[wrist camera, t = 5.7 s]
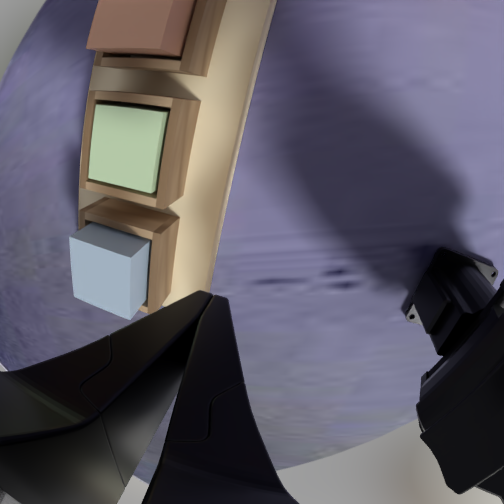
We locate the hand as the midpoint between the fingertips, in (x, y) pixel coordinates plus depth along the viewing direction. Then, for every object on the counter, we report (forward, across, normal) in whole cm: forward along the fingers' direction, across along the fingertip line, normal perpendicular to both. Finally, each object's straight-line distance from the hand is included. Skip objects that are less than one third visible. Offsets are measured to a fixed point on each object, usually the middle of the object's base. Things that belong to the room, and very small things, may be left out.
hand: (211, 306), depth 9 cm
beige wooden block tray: (+13, +8, -2) cm, 15 cm away
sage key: (+11, +8, -2) cm, 14 cm away
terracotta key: (+9, +8, -10) cm, 15 cm away
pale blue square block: (+9, +8, +5) cm, 13 cm away
